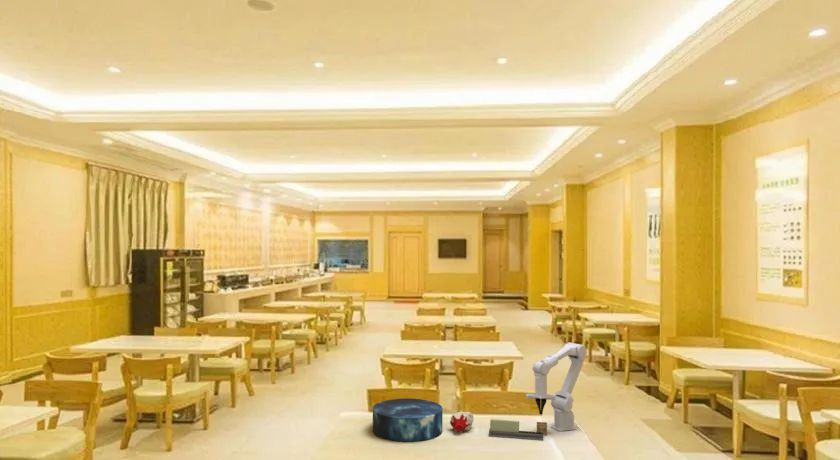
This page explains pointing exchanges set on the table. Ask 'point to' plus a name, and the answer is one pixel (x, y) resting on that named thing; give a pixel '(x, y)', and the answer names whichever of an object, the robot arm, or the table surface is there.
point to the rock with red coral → (461, 421)
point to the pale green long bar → (504, 425)
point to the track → (517, 435)
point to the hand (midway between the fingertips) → (540, 413)
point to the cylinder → (407, 420)
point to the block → (542, 427)
